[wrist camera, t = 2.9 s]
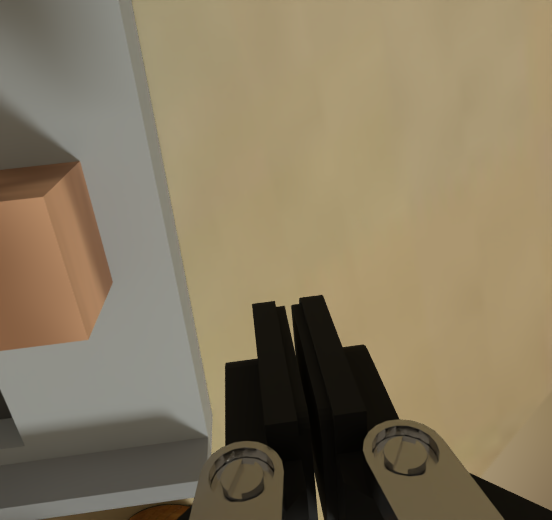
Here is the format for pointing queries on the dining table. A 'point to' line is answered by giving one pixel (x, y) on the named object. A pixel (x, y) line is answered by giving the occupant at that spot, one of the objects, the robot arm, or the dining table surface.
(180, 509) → the disposable coffee cup
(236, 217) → the dining table surface
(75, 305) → the block
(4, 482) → the box
